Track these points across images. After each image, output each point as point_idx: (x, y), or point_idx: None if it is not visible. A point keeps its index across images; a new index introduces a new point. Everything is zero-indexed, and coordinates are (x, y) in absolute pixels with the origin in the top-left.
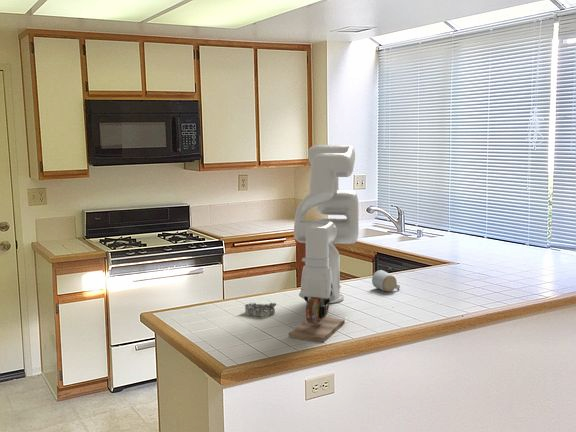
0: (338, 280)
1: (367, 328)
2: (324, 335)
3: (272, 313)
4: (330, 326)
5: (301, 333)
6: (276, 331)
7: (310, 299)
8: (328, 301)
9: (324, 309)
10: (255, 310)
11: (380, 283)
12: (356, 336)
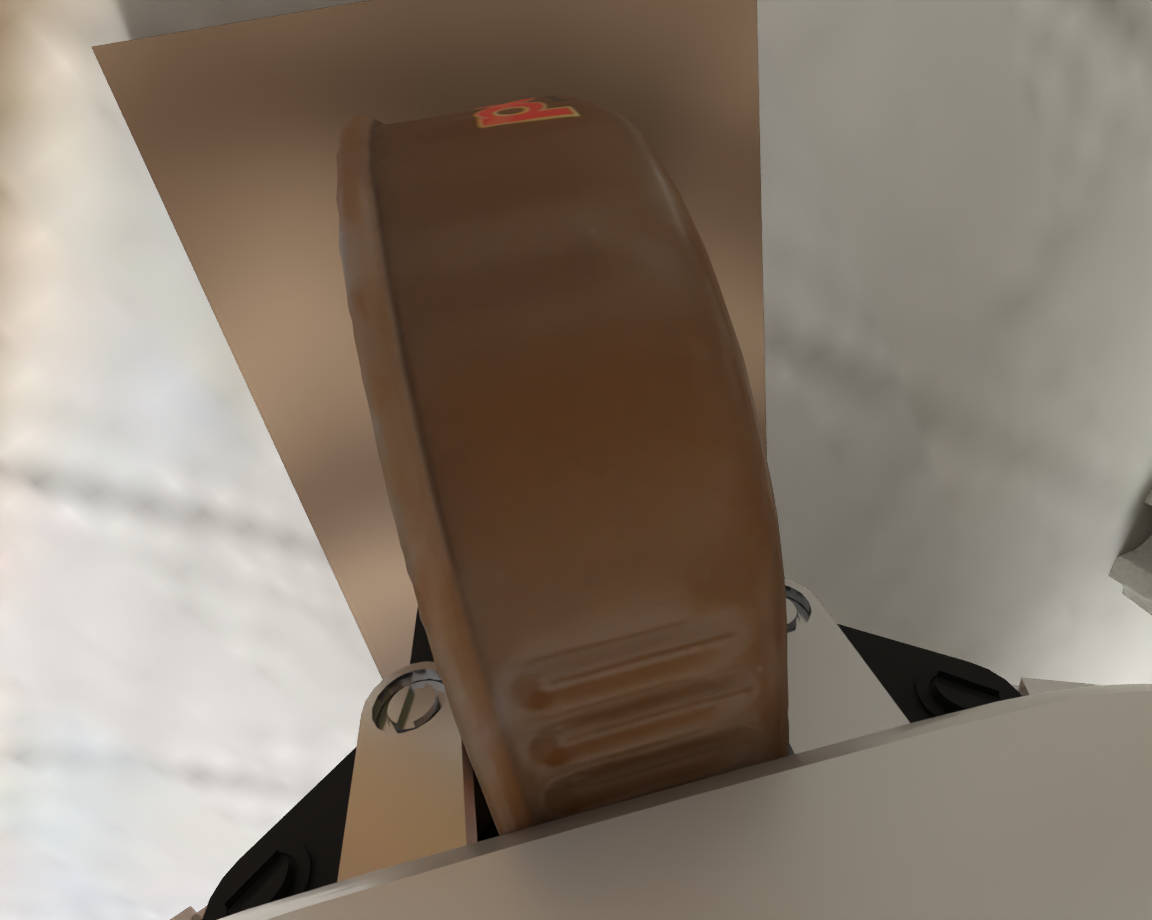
0: None
1: (151, 766)
2: (179, 170)
3: (1139, 560)
4: (398, 544)
5: (555, 36)
6: (967, 123)
7: (714, 581)
8: (229, 883)
9: (420, 660)
10: None
11: None
12: (12, 537)
